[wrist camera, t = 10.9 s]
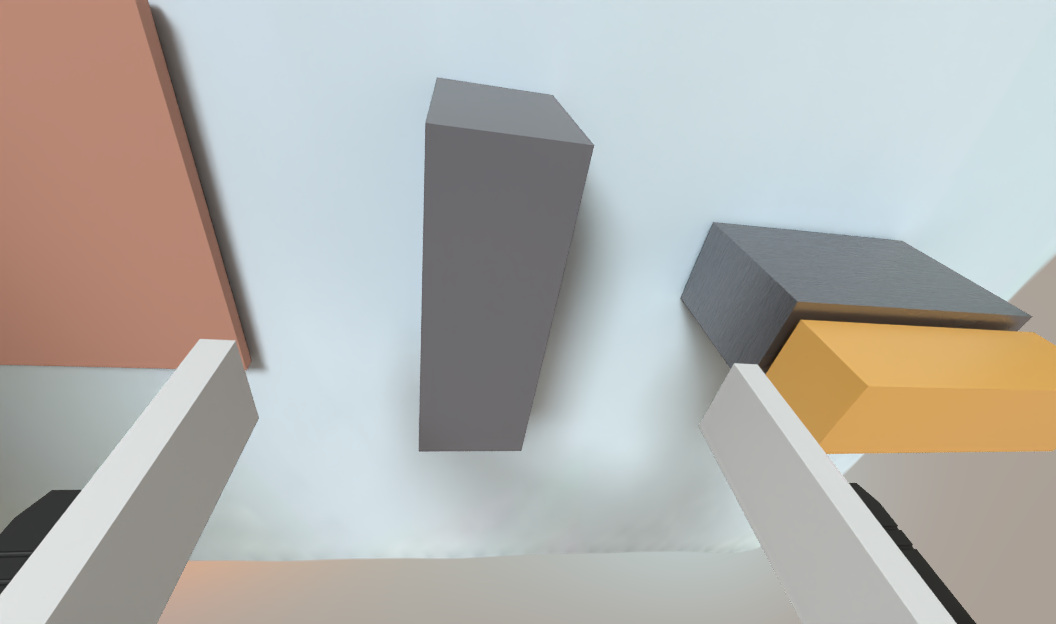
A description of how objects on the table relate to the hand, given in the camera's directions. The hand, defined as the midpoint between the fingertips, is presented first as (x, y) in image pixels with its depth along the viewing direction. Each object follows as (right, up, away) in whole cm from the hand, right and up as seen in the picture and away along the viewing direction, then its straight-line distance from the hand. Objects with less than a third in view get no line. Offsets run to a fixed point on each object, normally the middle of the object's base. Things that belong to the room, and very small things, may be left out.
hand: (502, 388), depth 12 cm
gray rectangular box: (+13, +4, +9) cm, 17 cm away
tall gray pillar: (-1, +5, +6) cm, 8 cm away
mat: (-17, +6, +3) cm, 18 cm away
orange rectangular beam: (+14, 0, +4) cm, 15 cm away
